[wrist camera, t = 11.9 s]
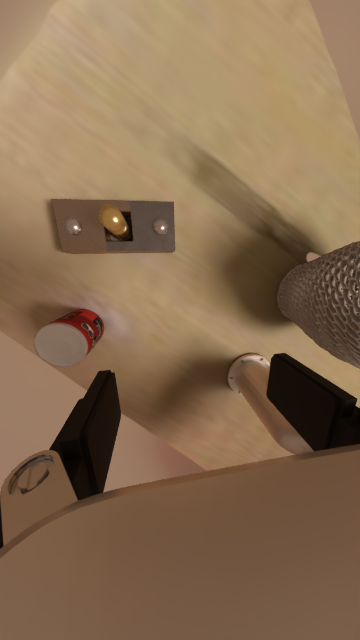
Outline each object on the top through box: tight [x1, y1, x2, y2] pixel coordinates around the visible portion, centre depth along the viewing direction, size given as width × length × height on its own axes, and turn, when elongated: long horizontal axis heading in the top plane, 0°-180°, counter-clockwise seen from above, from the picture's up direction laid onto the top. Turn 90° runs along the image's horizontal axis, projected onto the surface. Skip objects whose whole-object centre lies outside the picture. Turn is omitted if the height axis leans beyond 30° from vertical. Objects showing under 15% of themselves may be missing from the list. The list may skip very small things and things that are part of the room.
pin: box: [98, 204, 131, 241], centre depth 29 cm, size 3×3×10 cm
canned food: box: [34, 310, 104, 367], centre depth 33 cm, size 8×8×11 cm
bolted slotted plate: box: [51, 199, 175, 254], centre depth 32 cm, size 20×8×5 cm, turn 92°
